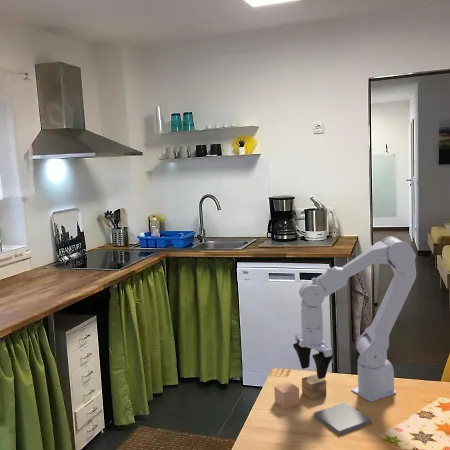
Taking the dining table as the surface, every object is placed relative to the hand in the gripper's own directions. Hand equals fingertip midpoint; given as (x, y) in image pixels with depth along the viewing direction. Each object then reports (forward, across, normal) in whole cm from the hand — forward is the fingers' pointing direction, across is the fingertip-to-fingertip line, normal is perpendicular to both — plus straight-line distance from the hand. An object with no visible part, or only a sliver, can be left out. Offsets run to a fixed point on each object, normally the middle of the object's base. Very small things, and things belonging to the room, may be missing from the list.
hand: (313, 372), depth 138 cm
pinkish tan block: (+7, 0, -9) cm, 11 cm away
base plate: (+6, +14, -2) cm, 16 cm away
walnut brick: (+6, 0, 0) cm, 7 cm away
